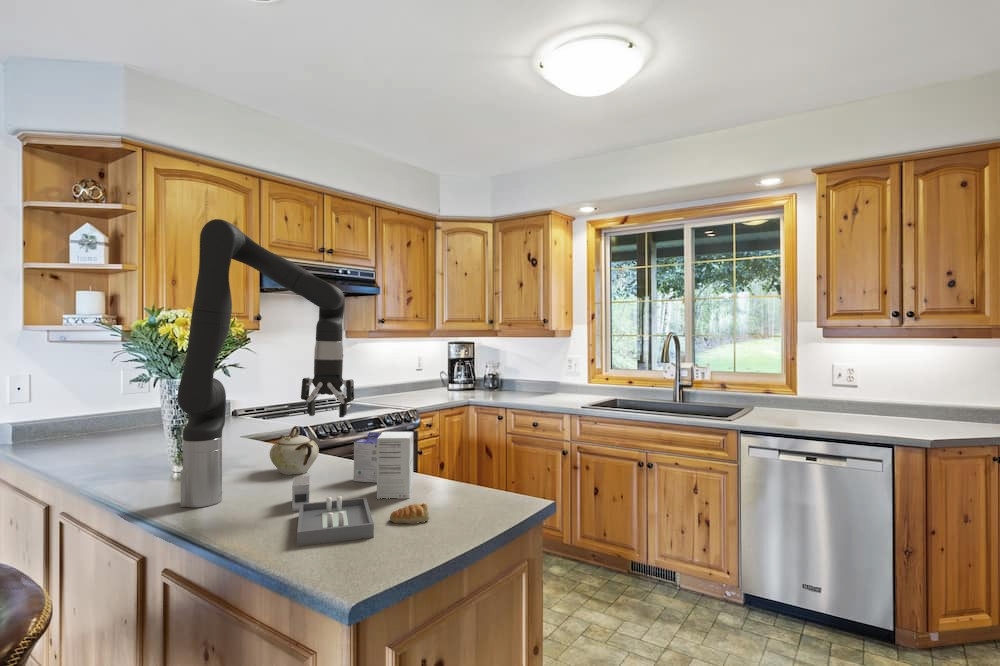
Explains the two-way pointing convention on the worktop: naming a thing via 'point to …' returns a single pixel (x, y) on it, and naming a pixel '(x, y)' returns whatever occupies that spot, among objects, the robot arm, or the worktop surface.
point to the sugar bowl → (294, 453)
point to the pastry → (410, 514)
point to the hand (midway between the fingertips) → (327, 416)
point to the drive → (300, 491)
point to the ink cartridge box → (366, 459)
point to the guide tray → (334, 521)
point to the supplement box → (394, 465)
